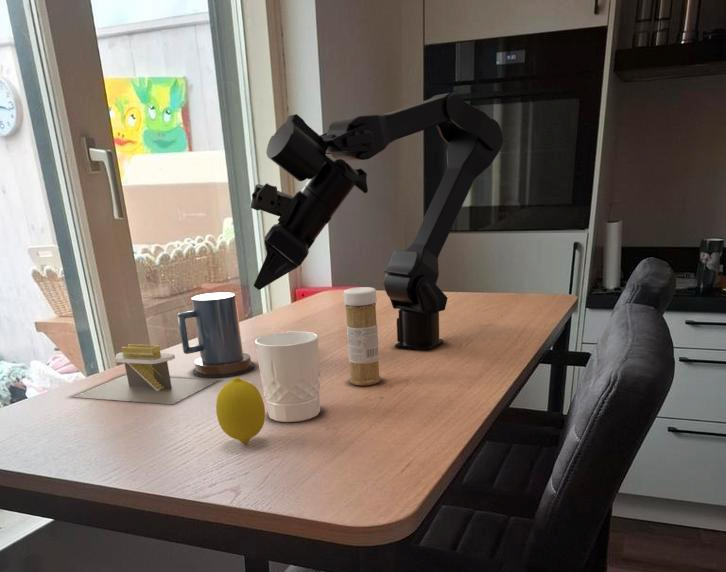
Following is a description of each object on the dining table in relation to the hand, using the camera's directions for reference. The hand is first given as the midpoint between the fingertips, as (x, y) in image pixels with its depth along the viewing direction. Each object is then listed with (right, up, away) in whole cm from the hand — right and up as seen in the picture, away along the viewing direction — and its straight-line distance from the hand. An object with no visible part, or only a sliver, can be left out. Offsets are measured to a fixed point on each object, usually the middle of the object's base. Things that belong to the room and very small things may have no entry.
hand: (260, 282), depth 109 cm
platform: (-17, -17, -2) cm, 24 cm away
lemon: (+2, -27, -27) cm, 38 cm away
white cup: (+7, -23, -18) cm, 30 cm away
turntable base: (-7, -13, +5) cm, 15 cm away
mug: (-7, -13, +5) cm, 15 cm away
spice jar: (+16, -17, -6) cm, 24 cm away
